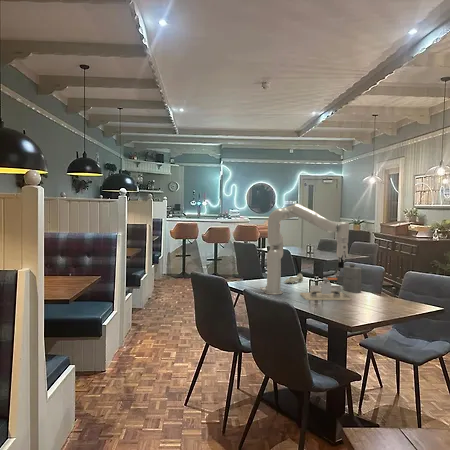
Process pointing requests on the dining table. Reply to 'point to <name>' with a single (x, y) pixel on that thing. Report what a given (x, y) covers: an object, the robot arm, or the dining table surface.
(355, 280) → the flask
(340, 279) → the valve lever
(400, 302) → the dining table surface
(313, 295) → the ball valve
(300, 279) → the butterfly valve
